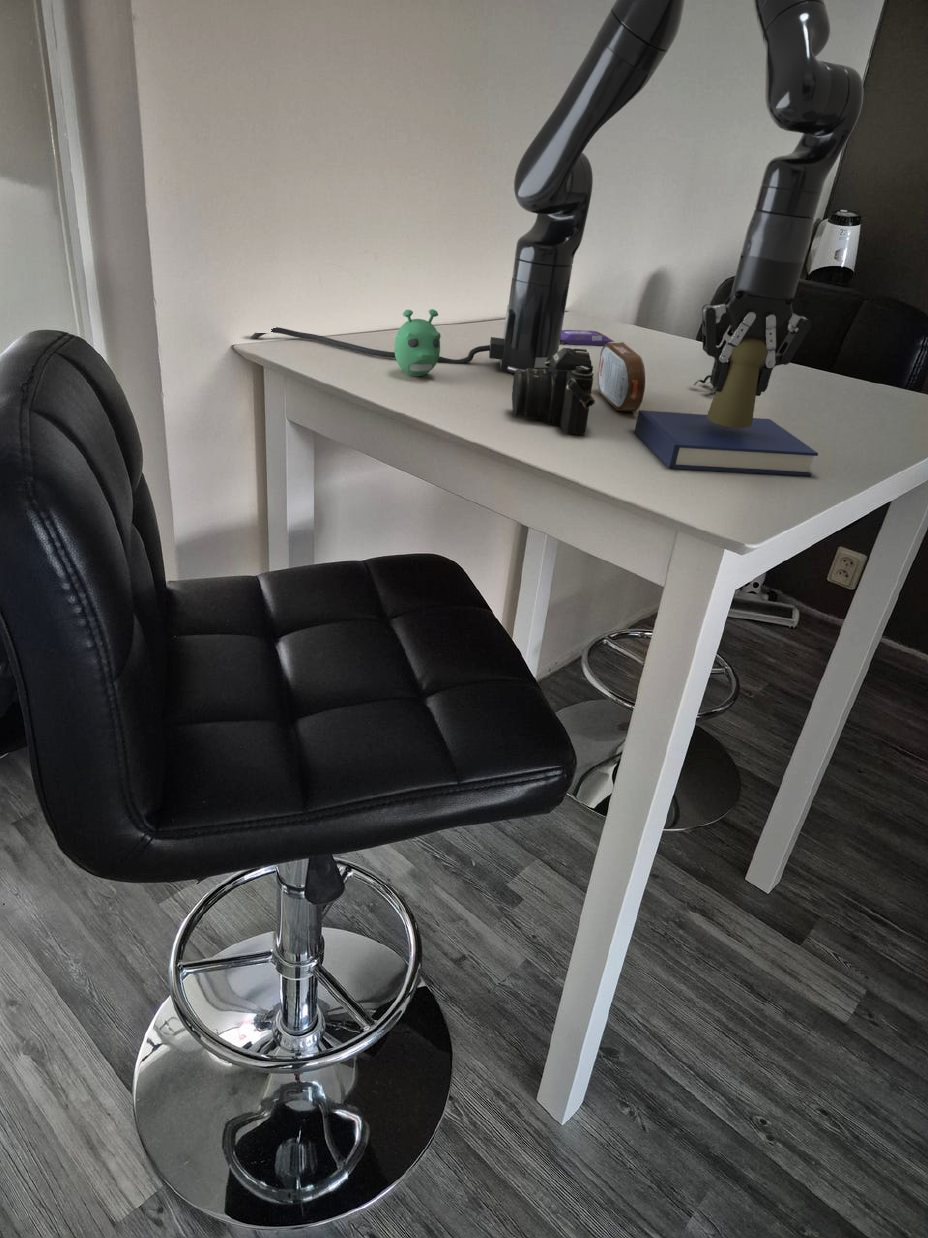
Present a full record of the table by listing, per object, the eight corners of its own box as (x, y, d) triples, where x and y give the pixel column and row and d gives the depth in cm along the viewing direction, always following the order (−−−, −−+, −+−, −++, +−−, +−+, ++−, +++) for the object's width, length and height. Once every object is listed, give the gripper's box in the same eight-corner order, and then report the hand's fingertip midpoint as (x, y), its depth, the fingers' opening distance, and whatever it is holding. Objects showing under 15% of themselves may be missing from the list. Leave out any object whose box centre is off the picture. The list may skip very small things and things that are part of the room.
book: (668, 468, 112) (674, 444, 110) (633, 432, 124) (638, 409, 122) (810, 476, 116) (818, 453, 114) (763, 440, 128) (770, 418, 126)
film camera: (486, 398, 130) (495, 329, 125) (560, 399, 134) (572, 332, 129) (536, 440, 116) (548, 364, 111) (617, 439, 120) (633, 366, 115)
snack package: (562, 334, 166) (551, 328, 170) (560, 344, 167) (550, 338, 171) (616, 336, 170) (604, 330, 174) (614, 346, 171) (602, 340, 175)
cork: (725, 428, 114) (747, 342, 109) (697, 414, 119) (717, 330, 113) (761, 427, 117) (785, 342, 111) (732, 412, 121) (753, 331, 116)
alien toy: (403, 383, 132) (408, 314, 127) (386, 369, 138) (390, 302, 133) (446, 383, 135) (453, 315, 130) (427, 369, 141) (433, 304, 136)
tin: (640, 419, 130) (652, 361, 126) (620, 418, 129) (632, 360, 125) (609, 389, 143) (619, 336, 138) (590, 388, 142) (600, 335, 138)
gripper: (820, 256, 111) (780, 390, 119) (708, 242, 110) (676, 378, 119) (841, 265, 104) (797, 406, 113) (723, 250, 104) (688, 393, 112)
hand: (735, 391), depth 116 cm, fingers closed on cork, 4 cm apart
